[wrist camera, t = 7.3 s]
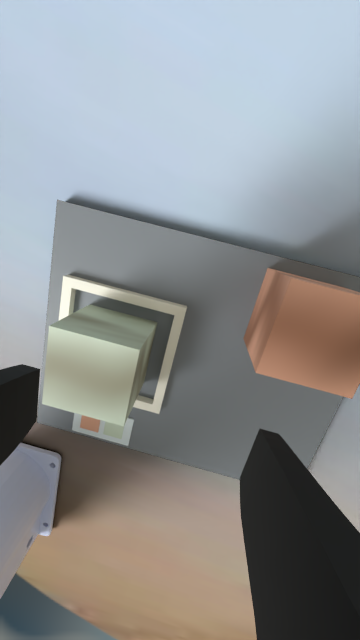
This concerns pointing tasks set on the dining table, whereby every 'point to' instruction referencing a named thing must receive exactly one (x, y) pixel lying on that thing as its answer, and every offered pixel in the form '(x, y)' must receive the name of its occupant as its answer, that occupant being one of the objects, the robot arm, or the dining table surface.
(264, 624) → the robot arm
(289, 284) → the terracotta block
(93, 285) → the grey board
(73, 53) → the dining table surface
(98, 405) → the sage block
